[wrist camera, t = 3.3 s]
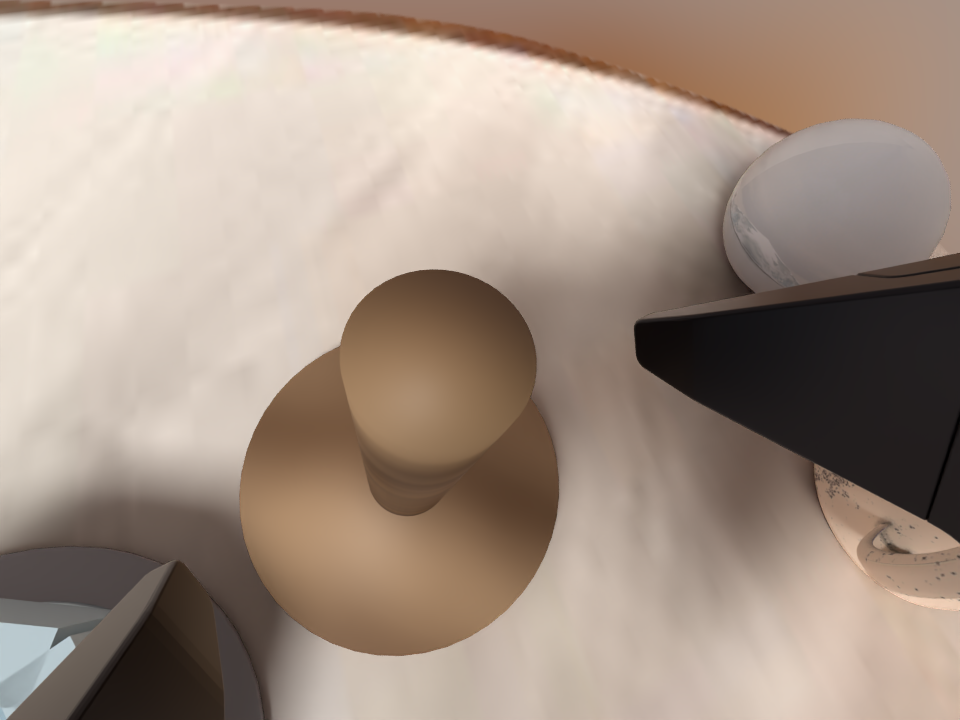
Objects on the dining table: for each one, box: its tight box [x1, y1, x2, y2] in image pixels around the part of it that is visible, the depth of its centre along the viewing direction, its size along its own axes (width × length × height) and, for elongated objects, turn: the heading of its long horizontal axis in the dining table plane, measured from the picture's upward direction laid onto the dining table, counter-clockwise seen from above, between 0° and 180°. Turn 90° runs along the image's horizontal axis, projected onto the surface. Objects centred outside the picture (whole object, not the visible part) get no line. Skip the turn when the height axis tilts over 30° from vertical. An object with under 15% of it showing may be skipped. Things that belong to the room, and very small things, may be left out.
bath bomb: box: [723, 119, 951, 293], centre depth 21 cm, size 8×8×8 cm
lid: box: [239, 270, 559, 656], centre depth 12 cm, size 11×11×12 cm
